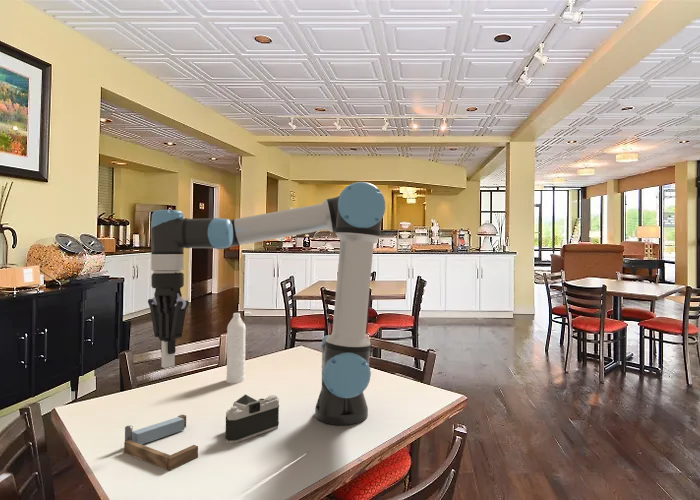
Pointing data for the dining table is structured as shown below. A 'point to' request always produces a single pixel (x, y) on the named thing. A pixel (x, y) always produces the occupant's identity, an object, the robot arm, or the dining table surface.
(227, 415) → the camera
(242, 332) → the water bottle
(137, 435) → the leg bar
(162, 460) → the back rail
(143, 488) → the dining table surface
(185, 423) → the stop block
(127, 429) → the pivot pin
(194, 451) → the left rail
